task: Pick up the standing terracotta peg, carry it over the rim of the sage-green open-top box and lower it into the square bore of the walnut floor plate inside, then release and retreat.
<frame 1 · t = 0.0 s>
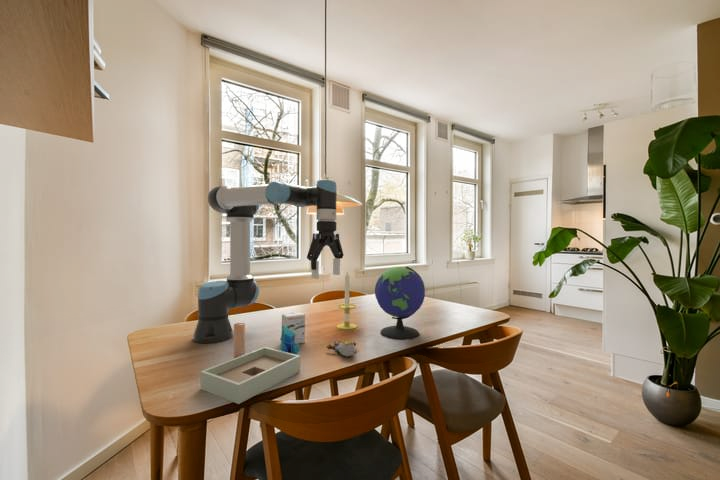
hand: (326, 276, 125), 28 cm above the table, fingers open, 13 cm apart
toy: (343, 352, 123), on the table
gemstone: (289, 359, 115), on the table
candle: (346, 327, 157), on the table
ink box: (293, 343, 133), on the table
globe: (399, 334, 146), on the table
peg: (239, 361, 112), on the table
box: (253, 379, 99), on the table
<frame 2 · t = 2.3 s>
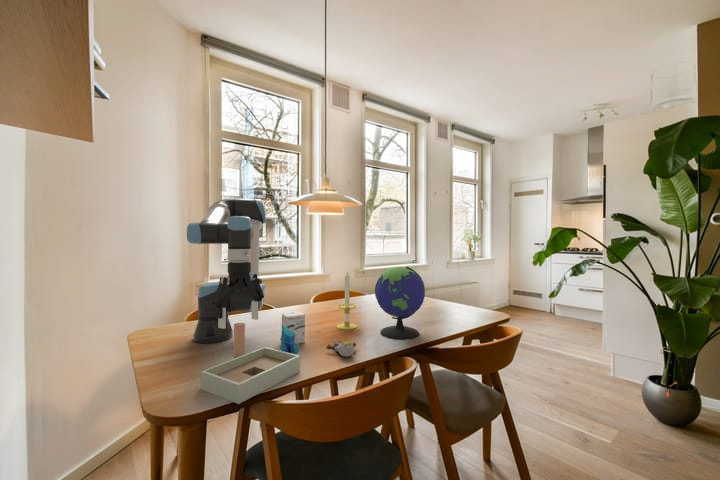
hand: (239, 323, 112), 13 cm above the table, fingers open, 13 cm apart
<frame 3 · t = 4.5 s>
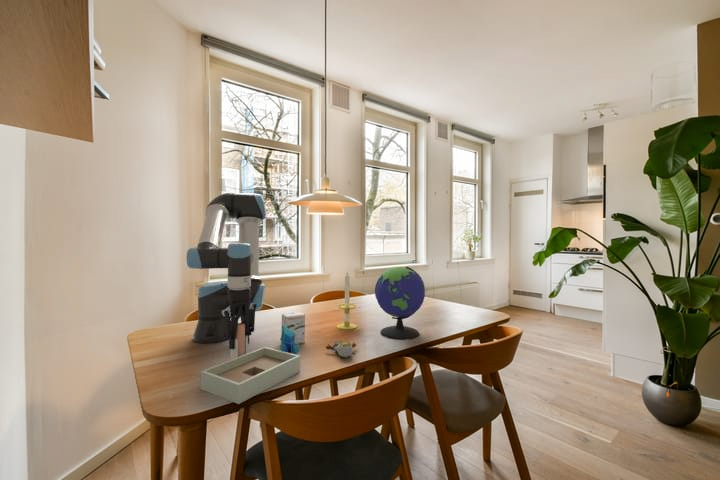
hand: (239, 355, 112), 2 cm above the table, fingers closed on peg, 3 cm apart
peg: (239, 361, 112), on the table, touching gripper
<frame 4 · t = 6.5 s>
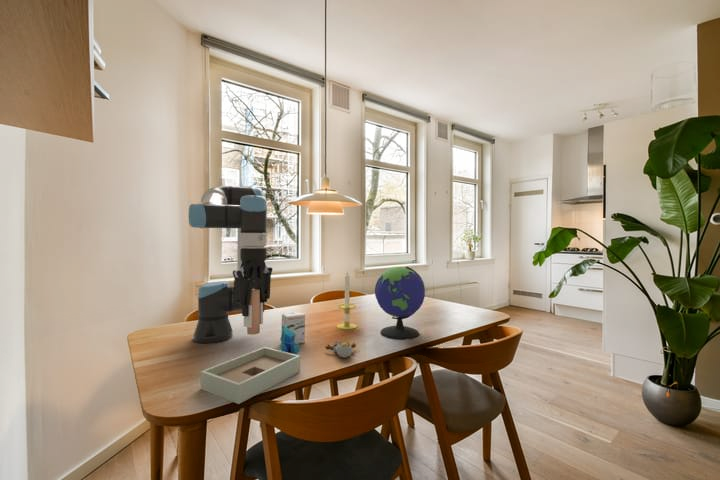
hand: (253, 324, 98), 17 cm above the table, fingers closed on peg, 3 cm apart
peg: (253, 332, 98), point 14 cm above the table, touching gripper
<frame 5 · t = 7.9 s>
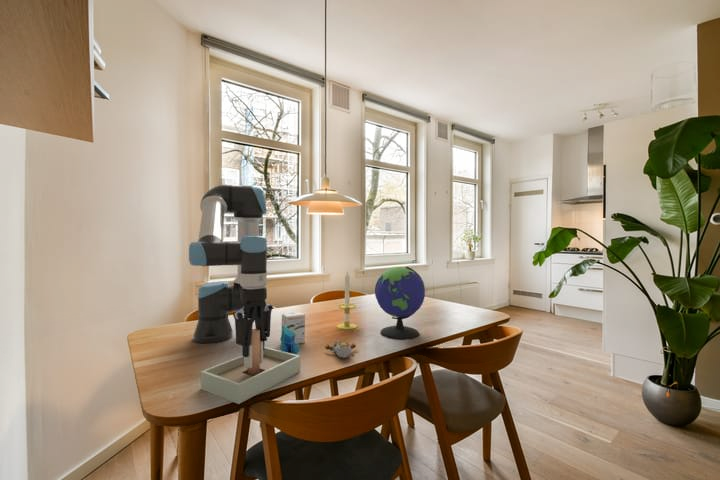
hand: (253, 364, 99), 5 cm above the table, fingers closed on peg, 3 cm apart
peg: (253, 373, 99), point 2 cm above the table, touching gripper
when the fingers open (4 cm above the table, at t = 8.7 s): peg stays where it is, resting in box.
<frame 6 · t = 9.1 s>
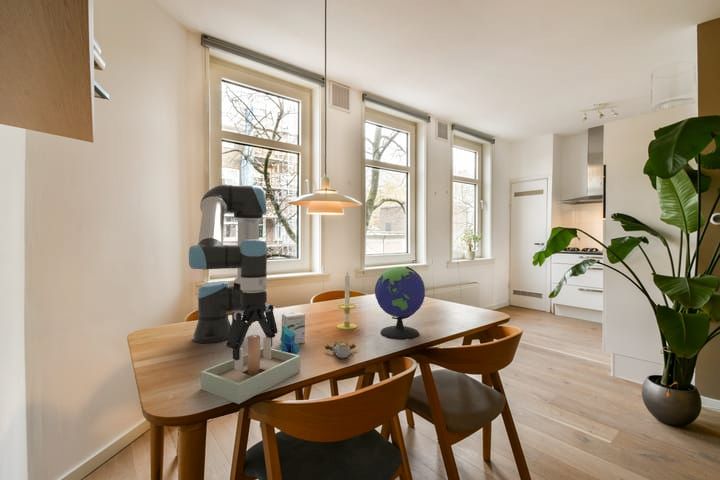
hand: (253, 363, 99), 5 cm above the table, fingers open, 10 cm apart
peg: (253, 379, 99), resting in box
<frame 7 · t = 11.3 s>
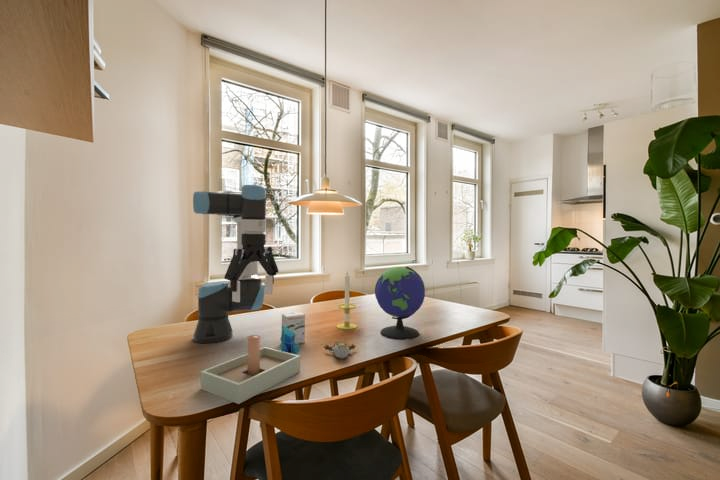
hand: (253, 297, 107), 23 cm above the table, fingers open, 13 cm apart
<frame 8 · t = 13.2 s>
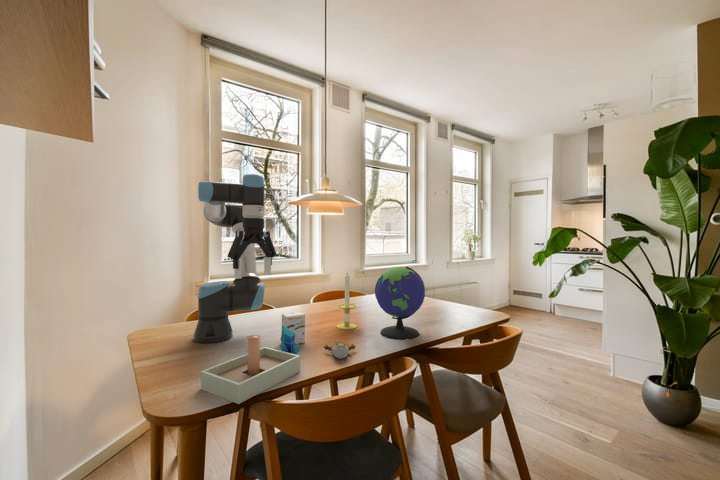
hand: (253, 276, 118), 29 cm above the table, fingers open, 13 cm apart
at the end: peg 0.0 cm off-centre on the box, point 0.0 cm above the box's base; peg tilted 0°; the gripper is holding nothing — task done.
